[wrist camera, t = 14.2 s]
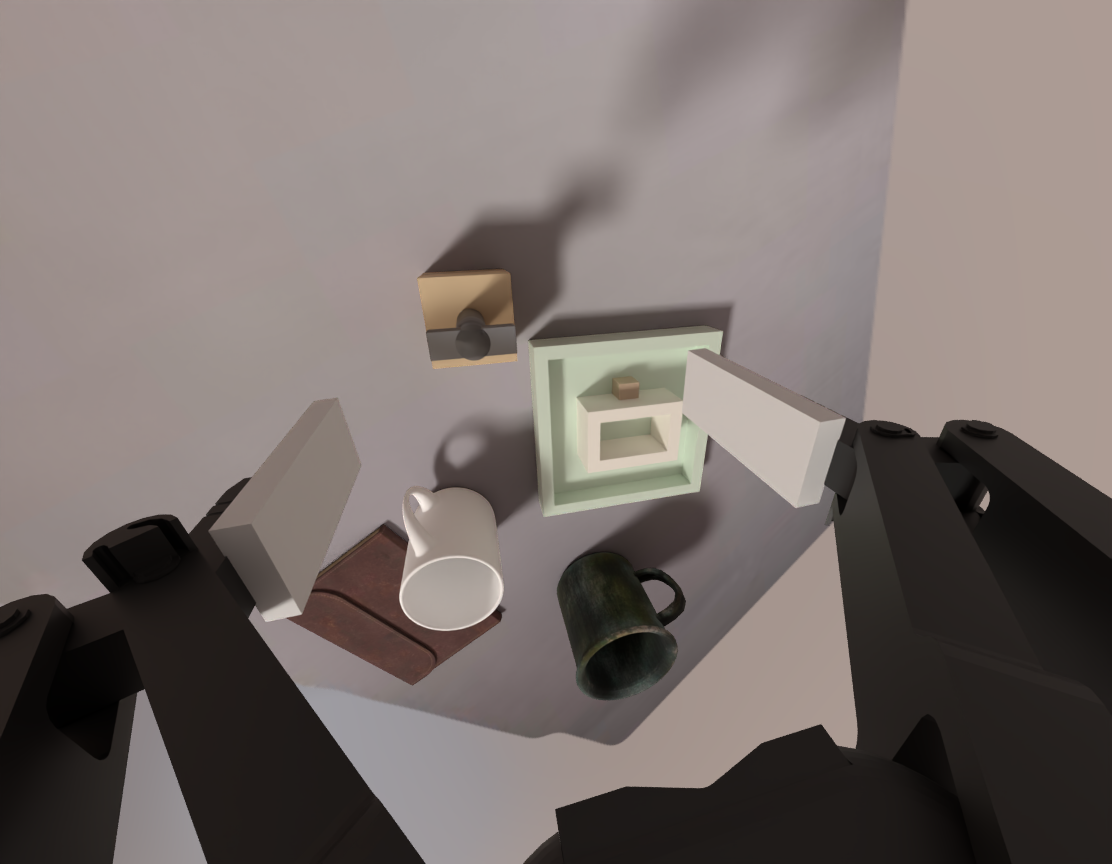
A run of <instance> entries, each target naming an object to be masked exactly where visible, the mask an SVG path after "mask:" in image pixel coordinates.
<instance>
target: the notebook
mask: <svg viewBox="0 0 1112 864" xmlns="http://www.w3.org/2000/svg"><path fill="white" fill-rule="evenodd" d="M407 548H408V543H407V542H406V541H405V540H404V539H402V538H401V537H400V536H398V535H397V534H396V533H394V532H393V531H392V530H390V529H389V528H388V527H386V526H385V525H384V524H383V525H381V527H380V528H379V529H377V530H376V531H375V532H374V533H372V534H371V535H370V536H368V537H367V538H366V539H364V540H363V541H362V542H360V543H359V544H358V545H356V546H355V547H354V548H352V549H351V550H350V551H348V552H347V553H346V554H344V555H343V556H342V557H340V558H339V559H338V560H337V561H335V562H334V563H333V564H331V565H330V566H329V567H327V568H326V569H325V570H323V571H322V572H321V573H319V574H318V575H317V578H316V580H315V583H314V585H313V588H312V590H311V593H310V596H309V598H308V601H307V603H306V606H305V608H304V611H303V613H302V614H301V615H297V616H292V617H287V619H289V620H291V621H292V622H294V623H296V624H298V625H300V626H302V627H304V628H306V629H307V630H309V631H311V632H313V633H315V634H317V635H319V636H320V637H322V638H324V639H326V640H328V641H330V642H332V643H334V644H335V645H337V646H339V647H341V648H343V649H345V650H347V651H349V652H350V653H352V654H354V655H356V656H358V657H360V658H362V659H364V660H365V661H367V662H369V663H371V664H373V665H375V666H377V667H379V668H380V669H382V670H384V671H386V672H388V673H390V674H392V675H394V676H395V677H397V678H399V679H401V680H403V681H405V682H407V683H409V684H410V685H414V684H415V683H417V682H418V681H420V680H421V679H423V678H424V677H426V676H427V675H428V674H429V673H430V672H431V671H432V670H433V669H434V668H436V667H437V666H438V665H440V664H441V663H443V662H444V661H446V660H447V659H448V658H450V657H451V656H453V655H454V654H455V653H457V652H458V651H460V650H461V649H463V648H464V647H465V646H467V645H468V644H470V643H471V642H472V641H474V640H475V639H477V638H478V637H480V636H481V635H482V634H484V633H485V632H487V631H488V630H489V629H491V628H492V627H494V626H495V625H497V624H498V623H499V622H500V621H501V618H502V614H501V613H500V612H499V611H497V610H496V609H495V610H494V612H493V613H491V614H490V615H489V616H488V617H487V618H485V619H484V620H482V621H481V622H479V623H477V624H475V625H472V626H469V627H466V628H463V629H458V630H450V631H441V630H433V629H429V628H425V627H423V626H420V625H418V624H416V623H415V622H413V621H412V620H411V619H409V618H408V616H407V615H406V614H405V613H404V611H403V609H402V607H401V604H400V599H399V594H400V588H401V582H402V577H403V571H404V565H405V559H406V554H407Z"/></svg>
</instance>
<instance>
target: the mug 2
mask: <svg viewBox="0 0 1112 864" xmlns="http://www.w3.org/2000/svg"><path fill="white" fill-rule="evenodd" d="M649 580H659V581H662V582H664V583H665V584H667V585H669V586H670V587H671V588H672V589H673V590H674V592H675V599H674V601H673V602H672V603H671V604H670V605H669V606H668V607H667V608H665V609H664V610H662V611H661V612H659V613H658V614H657V613H656V611H655V609H654V607H653V605H652V603H651V602H650V600H649V598H648V596H647V594H646V592H645V590H644V588H643V587H642V585H641V583H642V582H645V581H649ZM557 596H558V600H559V604H560V608H561V611H562V615H563V619H564V622H565V626H566V630H567V633H568V637H569V641H570V644H571V648H572V652H573V655H574V659H575V662H576V666H577V671H576V682H577V685H578V687H579V689H580V690H581V691H582V692H583V693H584V694H585V695H587V696H588V697H591V698H593V699H598V700H617V699H623V698H627V697H630V696H633V695H636V694H638V693H640V692H642V691H644V690H646V689H648V688H650V687H651V686H653V685H654V684H656V683H657V682H658V681H659V680H660V679H662V678H663V677H664V676H665V675H666V673H667V672H668V671H669V670H670V668H671V667H672V665H673V664H674V662H675V659H676V657H677V652H678V649H677V643H676V640H675V638H674V636H673V635H672V634H671V633H670V632H669V631H667V630H665V628H664V626H666V625H667V624H669V623H670V622H672V621H674V620H675V619H676V618H677V617H678V616H679V615H680V614H681V613H682V612H683V611H684V608H685V603H686V600H685V598H684V595H683V593H682V590H681V588H680V587H679V585H678V584H677V583H676V582H675V581H674V580H673V579H672V578H671V577H670V576H669V575H667V574H666V573H665V572H663V571H662V570H659V569H656V568H645V569H642V570H638V571H636V572H635V571H634V570H633V568H632V566H631V564H630V563H629V562H628V561H627V560H626V559H625V558H624V557H622V556H619V555H617V554H614V553H608V552H600V553H594V554H590V555H587V556H585V557H583V558H581V559H579V560H577V561H576V562H574V563H573V564H572V565H571V566H569V567H568V568H567V570H566V571H565V572H564V573H563V575H562V577H561V579H560V581H559V584H558V587H557Z"/></svg>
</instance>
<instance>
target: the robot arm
mask: <svg viewBox="0 0 1112 864" xmlns="http://www.w3.org/2000/svg"><path fill="white" fill-rule="evenodd" d="M682 413H683V414H684V415H685V416H686V417H687V418H689V419H690V420H691V421H692V422H693V423H695V424H696V425H697V426H698V427H699V428H701V429H702V430H703V431H704V432H705V433H707V434H708V435H709V436H710V437H711V438H713V439H714V440H715V441H716V442H717V443H719V444H720V445H721V446H722V447H723V448H725V449H726V450H727V451H728V452H729V453H731V454H732V455H733V456H734V457H735V458H737V459H738V460H739V461H740V462H741V463H743V464H744V465H745V466H746V467H747V468H749V469H750V470H751V471H752V472H753V473H755V474H756V475H757V476H758V477H759V478H760V479H762V480H763V481H764V482H765V483H766V484H768V485H769V486H770V487H771V488H772V489H774V490H775V491H776V492H777V493H778V494H780V495H781V496H782V497H783V498H784V499H786V500H787V501H788V502H789V503H790V504H792V505H793V506H794V507H795V508H798V507H803V506H807V505H812V504H816V503H819V501H820V498H821V495H822V492H823V489H824V486H825V485H826V486H827V487H829V488H830V489H832V490H833V491H834V492H836V493H835V496H834V498H833V501H832V504H831V507H830V510H829V513H828V516H827V519H826V522H825V525H827V526H829V525H830V523H831V521H834V528H835V537H836V545H837V553H838V562H839V571H840V580H841V588H842V597H843V605H844V614H845V622H846V630H847V640H848V648H849V657H850V665H851V674H852V682H853V691H854V699H855V708H856V717H857V727H858V737H857V745H856V749H853V748H847V747H842V746H837V745H836V744H835V742H834V741H833V740H832V738H831V737H830V736H829V734H828V733H827V731H826V730H825V729H824V727H823V726H822V725H817V726H814V727H811V728H808V729H805V730H801V731H799V732H796V733H792V734H789V735H786V736H783V737H780V738H776V739H773V740H770V741H767V742H764V743H761V744H760V745H759V746H758V747H757V748H756V749H754V750H753V751H752V752H750V754H748V755H747V756H746V757H745V758H743V759H742V760H741V761H740V762H739V763H737V764H736V765H735V766H734V767H732V768H731V769H730V770H729V771H728V772H726V773H725V774H724V775H723V776H722V777H720V778H719V779H718V780H717V781H715V782H714V783H713V784H712V785H710V786H708V787H705V788H662V787H623V788H620V789H617V790H614V791H611V792H608V793H605V794H601V795H598V796H595V797H592V798H589V799H586V800H583V801H580V802H576V803H574V804H570V805H567V806H564V807H561V808H558V809H555V811H556V818H557V824H558V830H559V833H558V832H557V833H556V834H554V835H553V836H552V837H550V838H549V839H548V840H546V841H545V842H544V843H542V844H541V846H540V847H539V848H538V849H536V851H535V852H534V853H533V854H532V855H531V856H530V857H529V858H528V859H527V860H526V861H525V862H524V863H523V864H1112V499H1111V498H1110V497H1108V496H1107V495H1105V494H1104V493H1102V492H1100V491H1099V490H1098V489H1096V488H1094V487H1093V486H1091V485H1090V484H1088V483H1087V482H1085V481H1084V480H1082V479H1081V478H1079V477H1078V476H1076V475H1075V474H1073V473H1071V472H1070V471H1068V470H1067V469H1065V468H1064V467H1062V466H1061V465H1059V464H1058V463H1056V462H1055V461H1053V460H1052V459H1050V458H1048V457H1047V456H1045V455H1044V454H1042V453H1041V452H1039V451H1037V450H1036V449H1034V448H1033V447H1032V446H1030V445H1029V444H1027V443H1025V442H1024V441H1022V440H1021V439H1019V438H1018V437H1016V436H1015V435H1013V434H1012V433H1010V432H1008V431H1006V430H1004V429H1002V428H999V427H996V426H993V425H992V424H990V423H987V422H981V421H977V420H972V421H968V420H952V421H949V422H946V424H945V426H944V428H943V430H942V432H941V434H940V437H920V435H919V434H918V433H917V432H916V431H914V430H912V429H911V428H908V427H906V426H903V425H900V424H896V423H893V422H887V421H877V420H871V421H864V422H861V423H857V422H855V421H853V420H850V419H848V418H846V417H844V416H842V415H840V414H838V413H836V412H834V411H832V410H830V409H828V408H825V407H824V406H822V405H820V404H818V403H815V402H814V401H812V400H810V399H808V398H806V397H804V396H802V395H799V394H797V393H795V392H793V391H791V390H789V389H787V388H785V387H783V386H781V385H779V384H777V383H775V382H773V381H771V380H769V379H767V378H765V377H763V376H761V375H759V374H757V373H755V372H753V371H751V370H749V369H747V368H745V367H743V366H741V365H739V364H737V363H735V362H733V361H730V360H728V359H726V358H724V357H722V356H720V355H718V354H716V353H714V352H712V351H710V350H708V349H706V348H702V349H695V350H688V355H687V365H686V375H685V385H684V396H683V406H682ZM360 467H361V462H360V459H359V456H358V453H357V451H356V448H355V445H354V442H353V439H352V437H351V434H350V431H349V428H348V425H347V422H346V420H345V417H344V414H343V411H342V408H341V406H340V403H339V400H338V398H333V399H325V400H318V401H314V402H313V403H312V404H311V405H310V407H309V408H308V409H307V410H306V411H305V413H304V414H303V415H302V416H301V418H300V419H299V420H298V421H297V423H296V424H295V425H294V426H293V427H292V429H291V430H290V431H289V432H288V434H287V435H286V436H285V437H284V439H283V440H282V441H281V442H280V443H279V445H278V446H277V447H276V448H275V450H274V451H273V452H272V453H271V455H270V456H269V457H268V458H267V459H266V461H265V462H264V463H263V464H262V466H261V467H260V468H259V469H258V471H257V472H256V473H255V474H254V475H253V477H250V478H244V479H243V480H241V481H240V482H238V483H237V484H236V485H234V486H233V487H231V488H230V489H228V490H227V491H226V492H225V493H224V494H223V495H222V497H221V498H220V499H219V500H218V501H217V502H216V503H215V504H216V506H213V507H212V508H211V509H210V510H209V512H208V513H207V514H206V517H203V518H202V520H201V521H200V522H199V523H198V524H197V525H196V526H195V528H194V529H193V530H192V531H191V532H190V533H189V534H188V533H187V531H186V530H185V528H184V527H183V525H182V524H181V522H180V521H179V519H178V518H177V517H175V516H173V515H155V516H151V517H146V518H142V519H139V520H137V521H134V522H131V523H128V524H126V525H124V526H122V527H120V528H118V529H115V530H113V531H111V532H109V533H108V534H106V535H105V536H103V537H102V538H100V539H99V540H97V541H96V542H94V543H93V544H92V545H91V546H90V547H89V548H88V549H87V550H86V551H85V552H84V555H83V558H82V561H83V562H84V563H85V564H86V566H87V567H88V568H89V569H90V570H91V571H92V572H93V574H94V575H95V576H96V577H97V578H98V579H99V580H100V582H101V583H102V584H103V585H104V586H105V587H106V588H107V590H108V591H109V592H110V593H109V594H107V595H104V596H101V597H98V598H96V599H93V600H90V601H87V602H84V603H82V604H79V605H76V606H73V607H71V608H68V609H66V608H65V607H64V606H63V605H62V604H61V603H60V602H59V601H58V600H57V599H56V598H55V597H54V596H51V595H48V594H42V595H33V596H29V597H26V598H23V599H19V600H16V601H13V602H10V603H8V604H6V605H4V606H1V607H0V864H113V857H114V850H115V843H116V835H117V829H118V822H119V815H120V808H121V801H122V794H123V787H124V780H125V774H126V766H127V759H128V752H129V746H130V738H131V732H132V724H133V718H134V710H135V704H136V697H137V692H139V691H141V690H144V689H145V691H146V693H147V696H148V699H149V702H150V705H151V708H152V710H153V713H154V716H155V719H156V721H157V724H158V727H159V730H160V733H161V735H162V738H163V741H164V744H165V747H166V749H167V752H168V755H169V758H170V760H171V763H172V766H173V769H174V772H175V774H176V777H177V780H178V783H179V785H180V788H181V791H182V794H183V797H184V799H185V802H186V805H187V808H188V810H189V813H190V816H191V819H192V822H193V824H194V827H195V830H196V833H197V836H198V838H199V841H200V844H201V847H202V850H203V853H204V855H205V858H206V861H207V864H425V862H424V861H423V859H422V858H421V857H420V855H419V854H418V852H417V851H416V850H415V848H414V847H413V845H412V844H411V843H410V841H409V840H408V839H407V837H406V836H405V835H404V833H403V832H402V830H401V829H400V827H399V826H398V825H397V823H396V822H395V820H394V819H393V818H392V816H391V815H390V814H389V812H388V811H387V810H386V808H385V807H384V806H383V804H382V803H381V802H380V800H379V799H378V798H377V797H376V796H375V795H374V794H373V792H372V791H371V790H370V788H369V787H368V785H367V784H366V783H365V781H364V780H363V778H362V777H361V776H360V774H359V773H358V772H357V770H356V769H355V767H354V766H353V764H352V763H351V762H350V760H349V759H348V757H347V756H346V755H345V753H344V752H343V751H342V749H341V748H340V746H339V745H338V744H337V742H336V741H335V739H334V738H333V736H332V735H331V734H330V732H329V731H328V730H327V728H326V727H325V726H324V724H323V723H322V721H321V720H320V718H319V717H318V716H317V714H316V713H315V712H314V710H313V709H312V707H311V706H310V705H309V703H308V702H307V700H306V699H305V697H304V696H303V695H302V693H301V692H300V691H299V689H298V688H297V686H296V685H295V683H294V682H293V681H292V679H291V678H290V676H289V675H288V674H287V672H286V671H285V669H284V668H283V667H282V665H281V664H280V662H279V661H278V660H277V658H276V657H275V655H274V654H273V653H272V651H271V650H270V648H269V647H268V646H267V644H266V643H265V641H264V640H263V639H262V637H261V636H260V634H259V633H258V632H257V630H256V629H255V628H254V626H253V625H252V623H251V622H250V621H249V619H248V618H249V616H250V614H251V612H252V610H253V608H254V606H255V605H256V607H257V609H258V610H259V612H260V613H261V615H262V616H263V618H264V620H265V621H266V622H269V621H273V620H278V619H283V618H287V617H292V616H297V615H301V614H302V613H303V611H304V608H305V606H306V603H307V601H308V598H309V596H310V593H311V590H312V588H313V585H314V583H315V580H316V578H317V575H318V573H319V570H320V568H321V565H322V563H323V560H324V558H325V555H326V553H327V550H328V548H329V545H330V543H331V540H332V538H333V535H334V533H335V530H336V528H337V525H338V523H339V520H340V518H341V515H342V513H343V510H344V508H345V505H346V503H347V500H348V498H349V495H350V493H351V490H352V487H353V485H354V482H355V480H356V477H357V475H358V472H359V470H360ZM987 491H989V494H990V502H989V505H988V507H987V509H986V511H984V510H983V509H982V508H981V507H980V506H979V505H980V503H981V502H982V500H983V498H984V496H985V494H986V493H987ZM559 837H560V838H559Z"/></svg>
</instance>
